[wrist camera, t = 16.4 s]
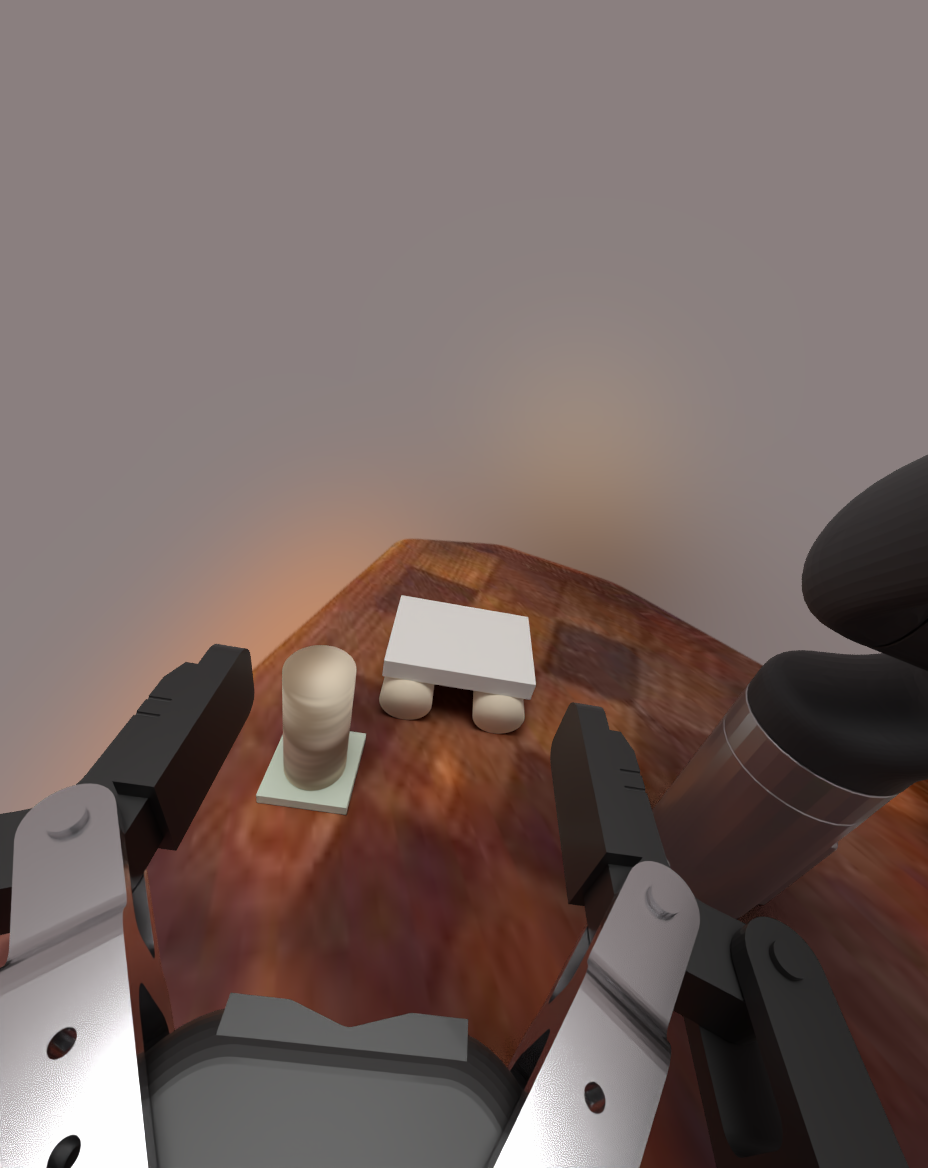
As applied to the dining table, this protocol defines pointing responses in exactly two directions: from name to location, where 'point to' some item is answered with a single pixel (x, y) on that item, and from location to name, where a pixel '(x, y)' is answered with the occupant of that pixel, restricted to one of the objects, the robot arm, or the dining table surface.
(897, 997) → the dining table surface
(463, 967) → the dining table surface
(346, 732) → the roller
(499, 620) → the slab rig
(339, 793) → the green mark
